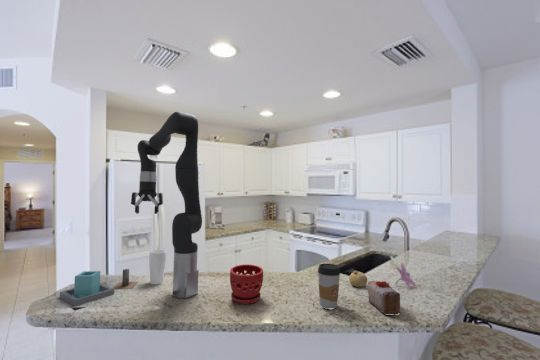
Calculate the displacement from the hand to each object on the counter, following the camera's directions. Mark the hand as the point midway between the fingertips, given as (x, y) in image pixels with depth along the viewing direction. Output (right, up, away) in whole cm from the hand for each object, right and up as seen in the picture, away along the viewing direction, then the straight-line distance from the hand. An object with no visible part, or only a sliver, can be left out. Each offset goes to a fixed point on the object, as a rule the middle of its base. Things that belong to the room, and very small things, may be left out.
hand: (146, 213), depth 131 cm
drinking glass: (+11, -30, -14) cm, 35 cm away
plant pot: (+52, -31, -27) cm, 66 cm away
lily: (+124, -33, -8) cm, 128 cm away
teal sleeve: (-9, -28, -30) cm, 42 cm away
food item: (+104, -32, -31) cm, 113 cm away
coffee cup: (+83, -31, -31) cm, 94 cm away
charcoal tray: (-8, -29, -30) cm, 43 cm away
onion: (+102, -33, -9) cm, 107 cm away
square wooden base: (0, -29, -19) cm, 35 cm away
